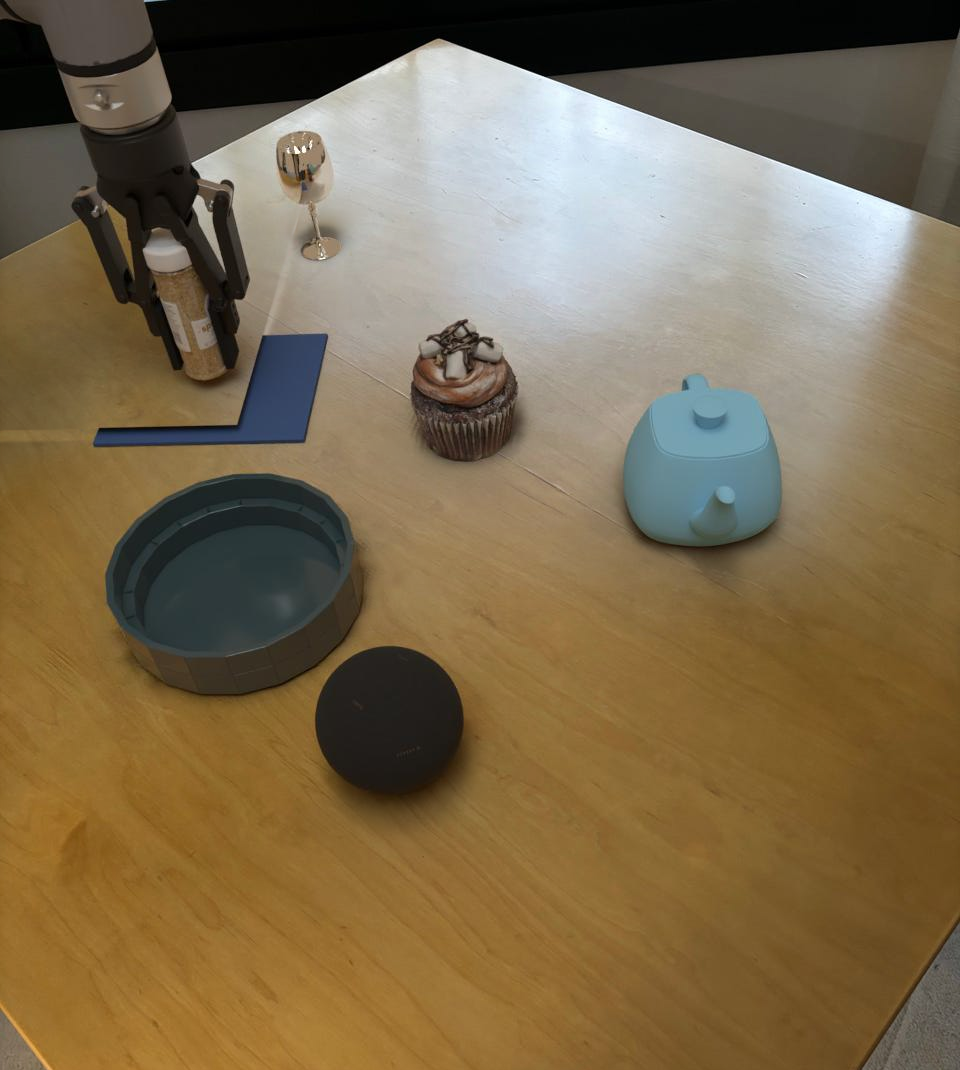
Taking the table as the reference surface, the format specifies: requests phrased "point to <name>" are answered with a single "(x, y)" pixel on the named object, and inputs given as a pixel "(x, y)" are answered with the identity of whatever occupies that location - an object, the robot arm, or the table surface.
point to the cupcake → (463, 393)
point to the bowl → (235, 583)
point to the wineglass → (307, 183)
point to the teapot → (702, 467)
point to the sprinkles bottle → (184, 305)
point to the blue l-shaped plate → (251, 401)
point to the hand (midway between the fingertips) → (206, 360)
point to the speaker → (389, 720)
